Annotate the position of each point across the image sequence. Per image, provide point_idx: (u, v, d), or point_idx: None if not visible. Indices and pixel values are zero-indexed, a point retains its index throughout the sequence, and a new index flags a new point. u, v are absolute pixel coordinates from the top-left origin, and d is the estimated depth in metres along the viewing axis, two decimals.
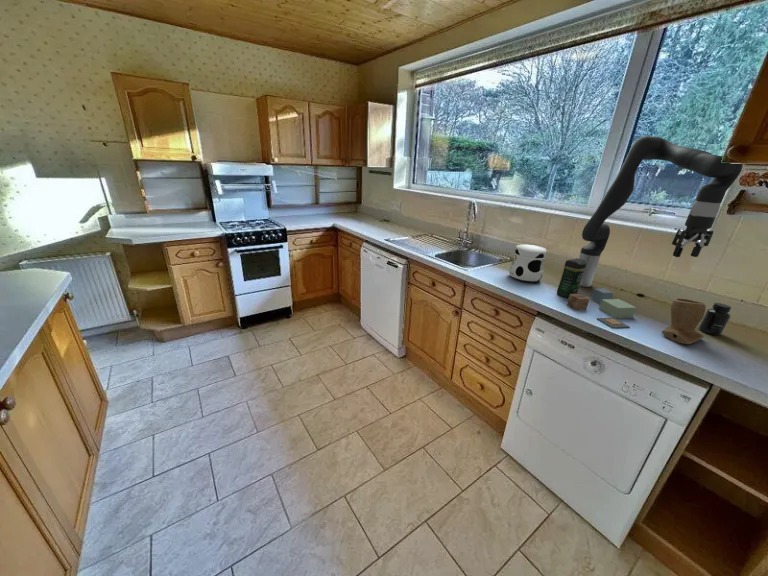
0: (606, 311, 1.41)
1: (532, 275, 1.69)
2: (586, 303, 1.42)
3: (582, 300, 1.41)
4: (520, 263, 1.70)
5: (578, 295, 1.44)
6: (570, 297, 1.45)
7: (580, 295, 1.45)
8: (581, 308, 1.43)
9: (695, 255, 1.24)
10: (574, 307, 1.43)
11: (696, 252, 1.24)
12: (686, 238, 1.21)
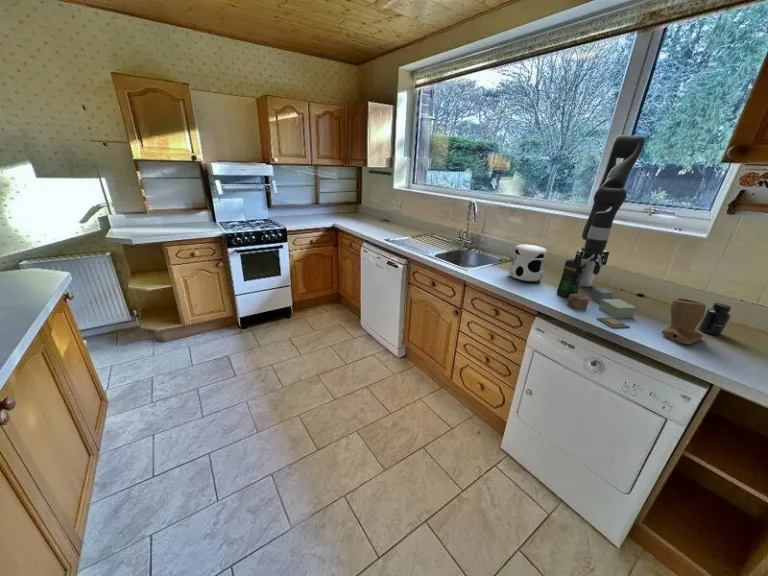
0: (606, 311, 1.41)
1: (532, 275, 1.69)
2: (586, 303, 1.42)
3: (582, 300, 1.41)
4: (520, 263, 1.70)
5: (578, 295, 1.44)
6: (570, 297, 1.45)
7: (580, 295, 1.45)
8: (581, 308, 1.43)
9: (595, 273, 1.39)
10: (574, 307, 1.43)
11: (596, 270, 1.39)
12: (585, 258, 1.36)
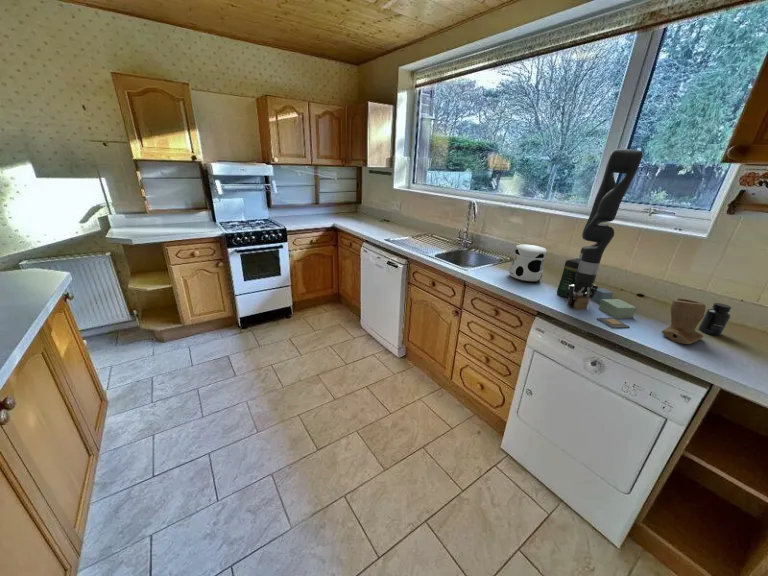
0: (606, 311, 1.41)
1: (532, 275, 1.69)
2: (586, 303, 1.42)
3: (582, 300, 1.41)
4: (520, 263, 1.70)
5: None
6: None
7: (580, 295, 1.45)
8: (581, 308, 1.43)
9: None
10: (574, 307, 1.43)
11: None
12: (576, 290, 1.42)
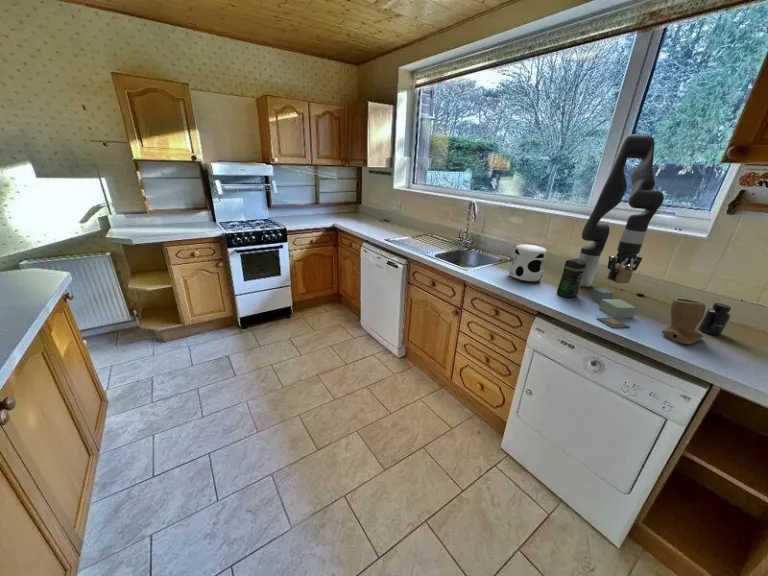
0: (606, 311, 1.41)
1: (532, 275, 1.69)
2: (629, 276, 1.33)
3: (625, 272, 1.32)
4: (520, 263, 1.70)
5: None
6: None
7: (622, 267, 1.36)
8: (624, 281, 1.34)
9: None
10: (616, 280, 1.34)
11: None
12: (619, 262, 1.34)
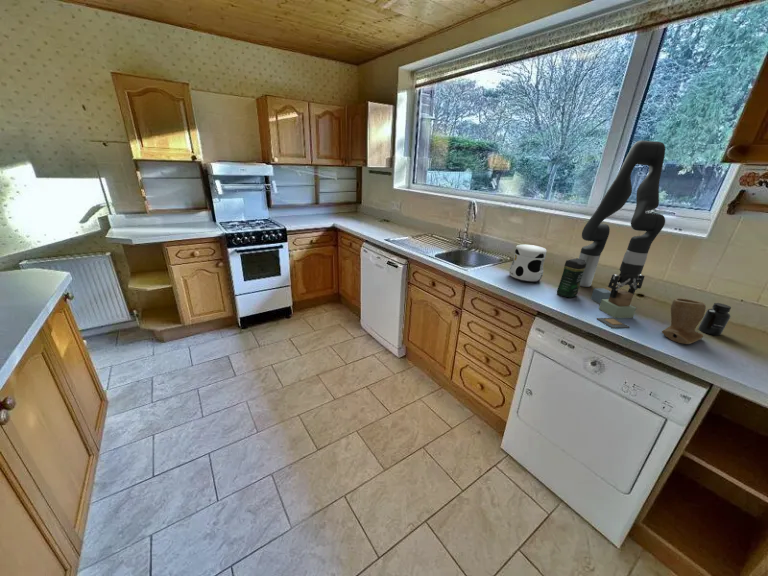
0: (606, 311, 1.41)
1: (532, 275, 1.69)
2: (630, 299, 1.36)
3: (626, 296, 1.35)
4: (520, 263, 1.70)
5: (621, 291, 1.39)
6: None
7: (623, 291, 1.39)
8: (624, 304, 1.37)
9: None
10: (617, 303, 1.37)
11: None
12: (620, 282, 1.36)
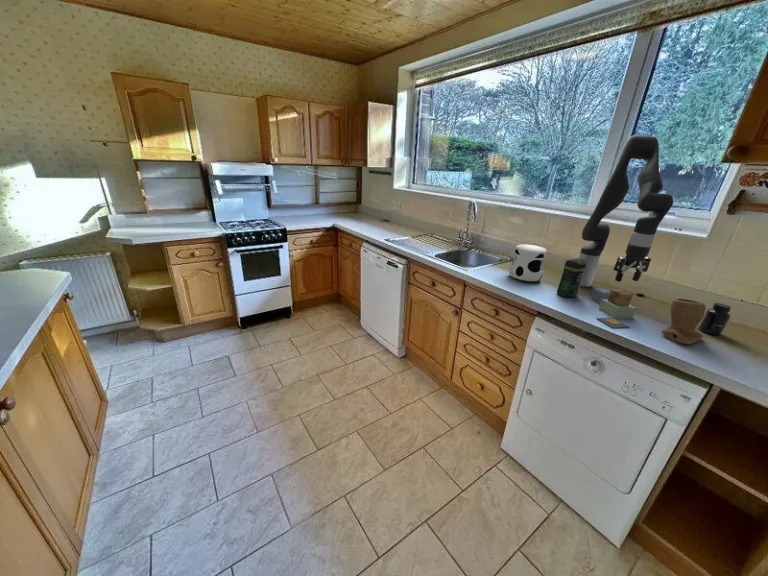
0: (606, 311, 1.41)
1: (532, 275, 1.69)
2: (629, 299, 1.37)
3: (625, 296, 1.36)
4: (520, 263, 1.70)
5: (620, 290, 1.39)
6: (612, 292, 1.40)
7: (622, 290, 1.39)
8: (624, 304, 1.37)
9: (636, 279, 1.36)
10: (616, 303, 1.37)
11: (636, 277, 1.35)
12: (626, 265, 1.33)
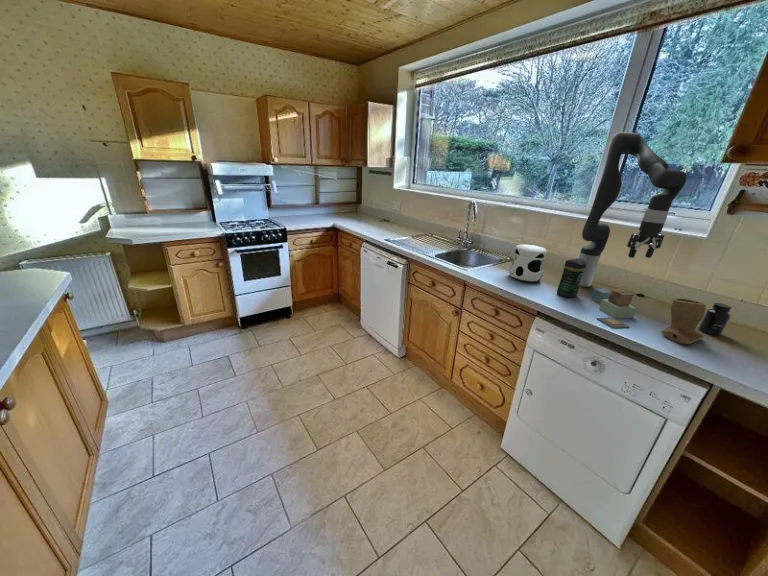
0: (606, 311, 1.41)
1: (532, 275, 1.69)
2: (630, 299, 1.36)
3: (626, 296, 1.35)
4: (520, 263, 1.70)
5: (621, 291, 1.39)
6: (612, 293, 1.39)
7: (623, 291, 1.39)
8: (624, 304, 1.37)
9: (648, 256, 1.40)
10: (617, 303, 1.37)
11: (649, 253, 1.40)
12: (639, 241, 1.37)
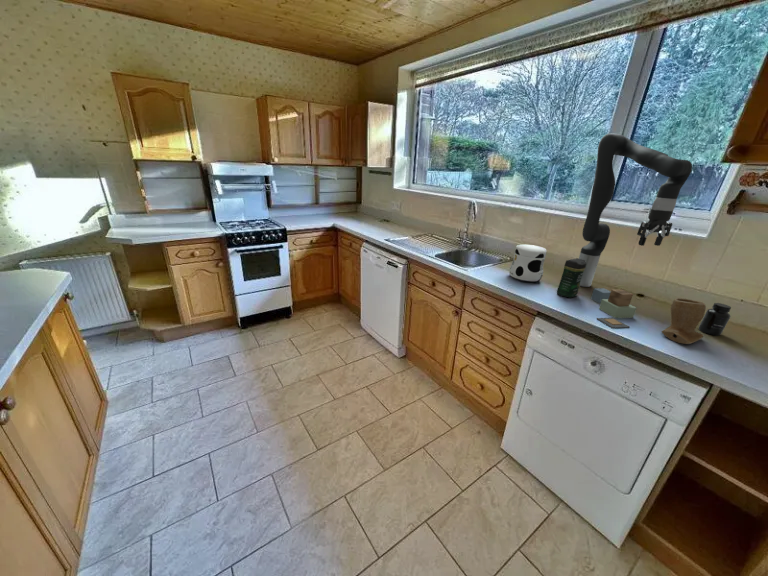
0: (606, 311, 1.41)
1: (532, 275, 1.69)
2: (629, 299, 1.36)
3: (626, 296, 1.35)
4: (520, 263, 1.70)
5: (620, 291, 1.39)
6: (612, 293, 1.39)
7: (622, 291, 1.39)
8: (624, 304, 1.37)
9: (658, 244, 1.44)
10: (617, 303, 1.37)
11: (658, 241, 1.44)
12: (649, 229, 1.41)
